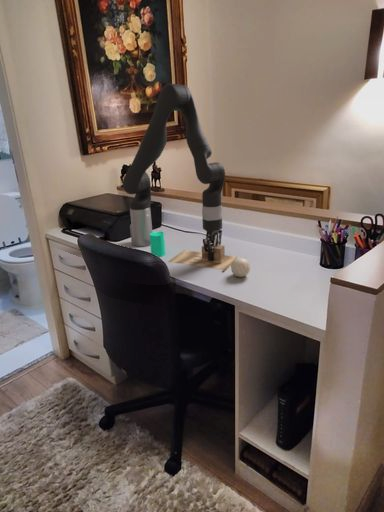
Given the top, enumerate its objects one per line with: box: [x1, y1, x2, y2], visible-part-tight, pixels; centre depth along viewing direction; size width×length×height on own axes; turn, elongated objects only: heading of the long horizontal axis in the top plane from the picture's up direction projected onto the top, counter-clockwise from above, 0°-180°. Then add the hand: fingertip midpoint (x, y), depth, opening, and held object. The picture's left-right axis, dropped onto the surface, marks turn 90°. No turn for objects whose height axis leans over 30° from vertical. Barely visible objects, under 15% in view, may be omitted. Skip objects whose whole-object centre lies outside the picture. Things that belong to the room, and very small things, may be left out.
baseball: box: [230, 257, 251, 278], centre depth 138 cm, size 7×7×7 cm
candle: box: [149, 229, 166, 258], centre depth 160 cm, size 6×6×12 cm
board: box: [168, 249, 237, 273], centre depth 154 cm, size 24×14×1 cm, turn 64°
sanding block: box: [201, 244, 226, 263], centre depth 151 cm, size 8×4×6 cm, turn 64°
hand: (213, 258), depth 151 cm, fingers closed on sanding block, 4 cm apart
